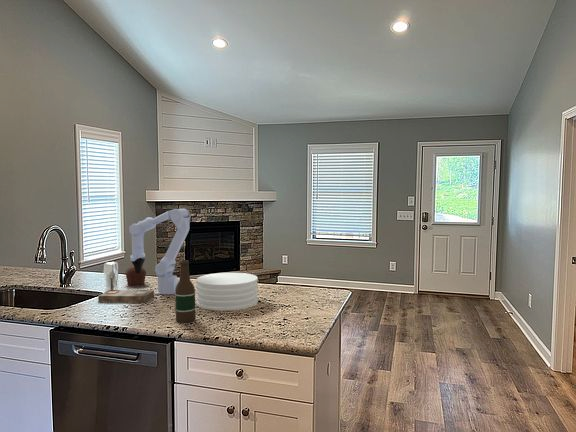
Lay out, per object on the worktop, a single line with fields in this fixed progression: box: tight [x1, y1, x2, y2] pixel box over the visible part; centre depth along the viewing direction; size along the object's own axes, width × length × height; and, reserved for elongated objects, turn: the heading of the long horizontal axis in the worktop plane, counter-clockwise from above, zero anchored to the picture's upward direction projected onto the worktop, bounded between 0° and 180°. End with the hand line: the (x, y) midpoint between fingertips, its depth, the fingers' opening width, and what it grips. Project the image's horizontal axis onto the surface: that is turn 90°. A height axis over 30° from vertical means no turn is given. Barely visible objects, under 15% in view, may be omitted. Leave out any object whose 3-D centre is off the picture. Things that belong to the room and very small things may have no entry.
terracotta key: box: [106, 291, 118, 294], centre depth 209 cm, size 4×4×3 cm
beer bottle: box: [174, 259, 196, 324], centre depth 173 cm, size 8×8×24 cm
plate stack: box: [195, 272, 259, 312], centre depth 202 cm, size 28×28×12 cm
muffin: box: [124, 265, 147, 287], centre depth 242 cm, size 12×11×10 cm
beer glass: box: [103, 261, 119, 293], centre depth 223 cm, size 7×7×15 cm
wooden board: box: [97, 289, 155, 304], centre depth 209 cm, size 22×12×3 cm, turn 87°
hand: (138, 273), depth 226 cm, fingers closed
